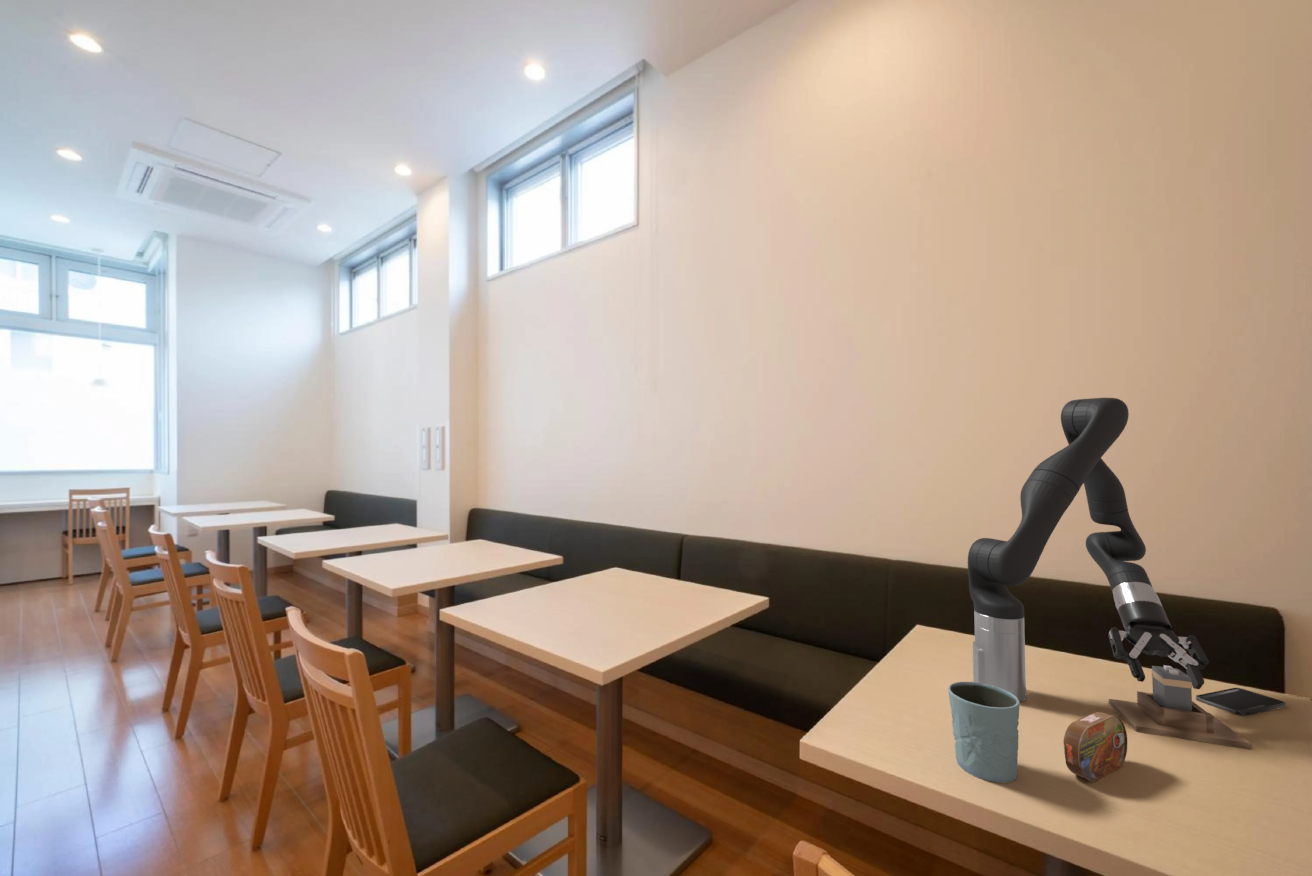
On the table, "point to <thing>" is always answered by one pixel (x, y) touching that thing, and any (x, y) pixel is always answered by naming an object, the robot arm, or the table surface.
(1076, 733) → the tin
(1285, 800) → the table surface
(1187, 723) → the dock
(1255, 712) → the phone
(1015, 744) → the teal embossed cup
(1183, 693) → the cell
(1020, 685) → the robot arm
